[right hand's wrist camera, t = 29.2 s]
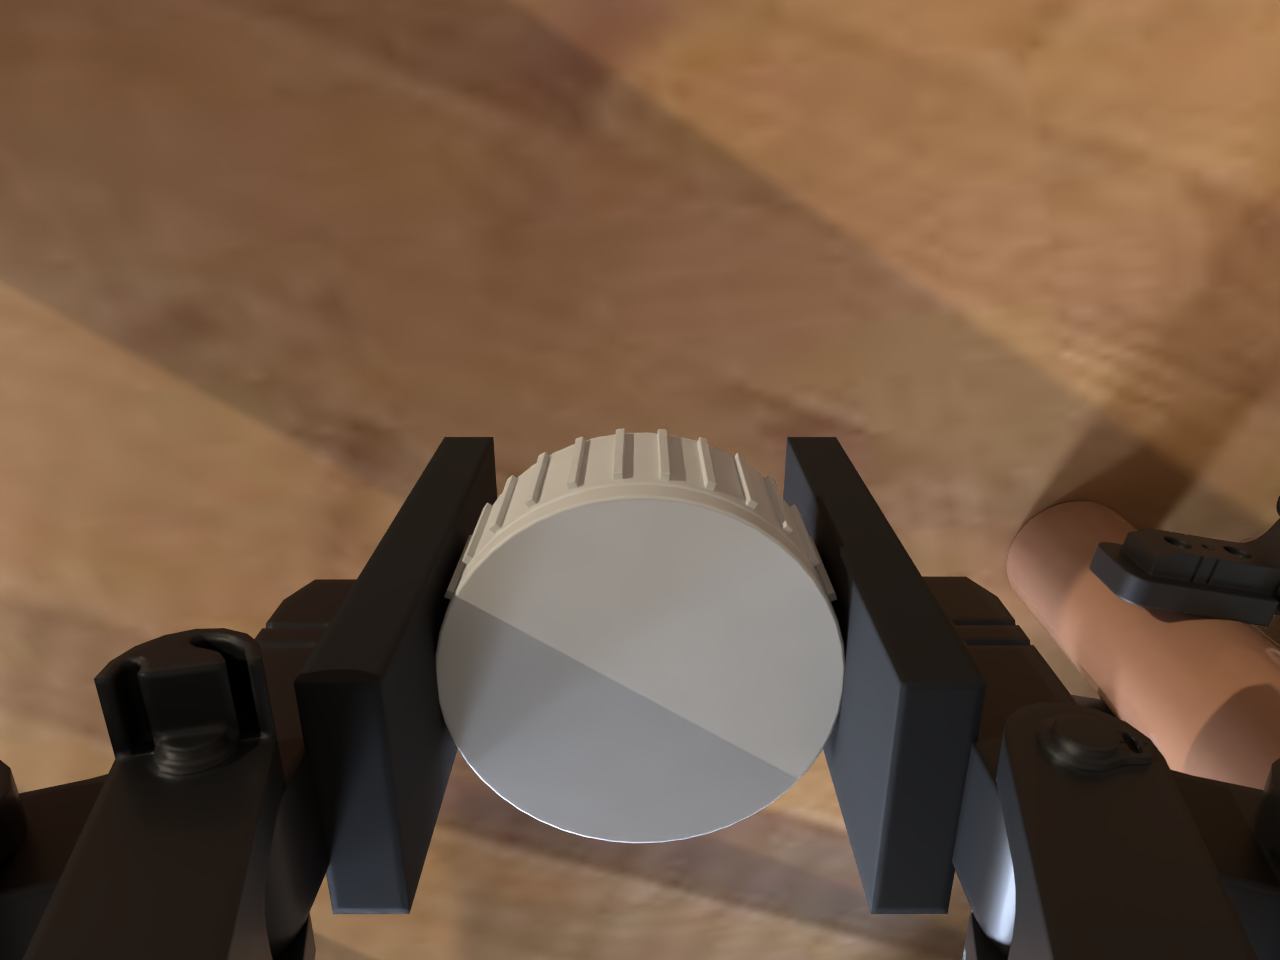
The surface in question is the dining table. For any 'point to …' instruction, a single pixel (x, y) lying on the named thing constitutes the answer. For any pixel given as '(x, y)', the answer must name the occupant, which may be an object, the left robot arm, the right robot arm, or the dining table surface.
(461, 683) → the lid
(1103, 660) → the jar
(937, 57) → the dining table surface
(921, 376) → the dining table surface
